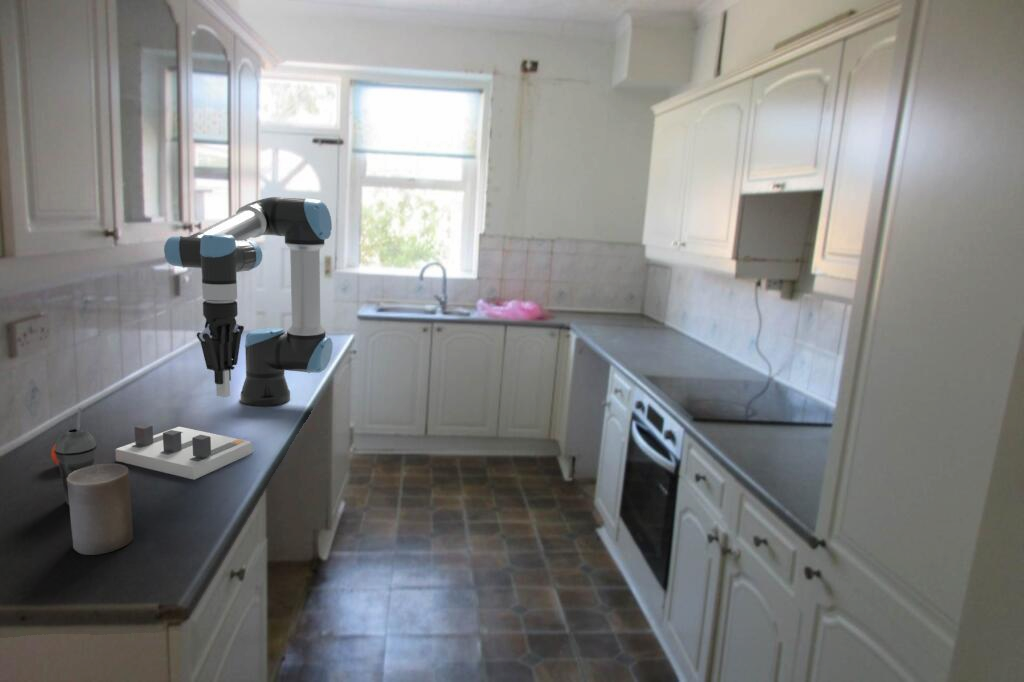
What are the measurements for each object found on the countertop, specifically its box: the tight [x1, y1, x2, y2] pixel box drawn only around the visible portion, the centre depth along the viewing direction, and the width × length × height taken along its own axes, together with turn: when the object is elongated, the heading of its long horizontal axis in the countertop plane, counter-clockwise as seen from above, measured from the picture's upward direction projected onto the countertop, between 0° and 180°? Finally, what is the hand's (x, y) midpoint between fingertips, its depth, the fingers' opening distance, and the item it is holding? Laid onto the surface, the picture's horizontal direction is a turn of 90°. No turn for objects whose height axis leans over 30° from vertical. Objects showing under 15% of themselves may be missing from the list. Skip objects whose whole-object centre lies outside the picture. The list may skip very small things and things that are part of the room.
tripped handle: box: [192, 435, 211, 458], centre depth 155 cm, size 2×3×4 cm
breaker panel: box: [115, 423, 253, 481], centre depth 162 cm, size 19×24×8 cm
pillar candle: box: [66, 463, 135, 556], centre depth 120 cm, size 10×10×15 cm
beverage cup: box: [54, 407, 98, 506], centre depth 135 cm, size 7×7×20 cm
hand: (223, 395), depth 160 cm, fingers closed
